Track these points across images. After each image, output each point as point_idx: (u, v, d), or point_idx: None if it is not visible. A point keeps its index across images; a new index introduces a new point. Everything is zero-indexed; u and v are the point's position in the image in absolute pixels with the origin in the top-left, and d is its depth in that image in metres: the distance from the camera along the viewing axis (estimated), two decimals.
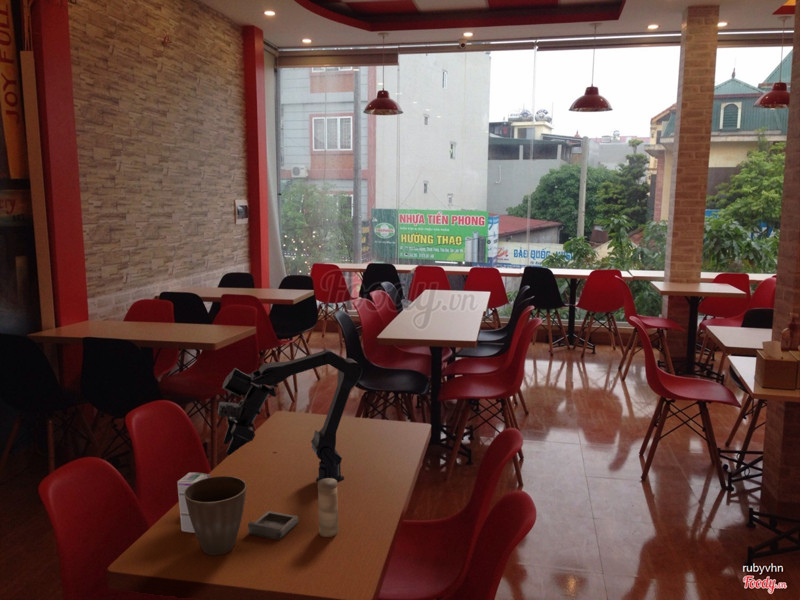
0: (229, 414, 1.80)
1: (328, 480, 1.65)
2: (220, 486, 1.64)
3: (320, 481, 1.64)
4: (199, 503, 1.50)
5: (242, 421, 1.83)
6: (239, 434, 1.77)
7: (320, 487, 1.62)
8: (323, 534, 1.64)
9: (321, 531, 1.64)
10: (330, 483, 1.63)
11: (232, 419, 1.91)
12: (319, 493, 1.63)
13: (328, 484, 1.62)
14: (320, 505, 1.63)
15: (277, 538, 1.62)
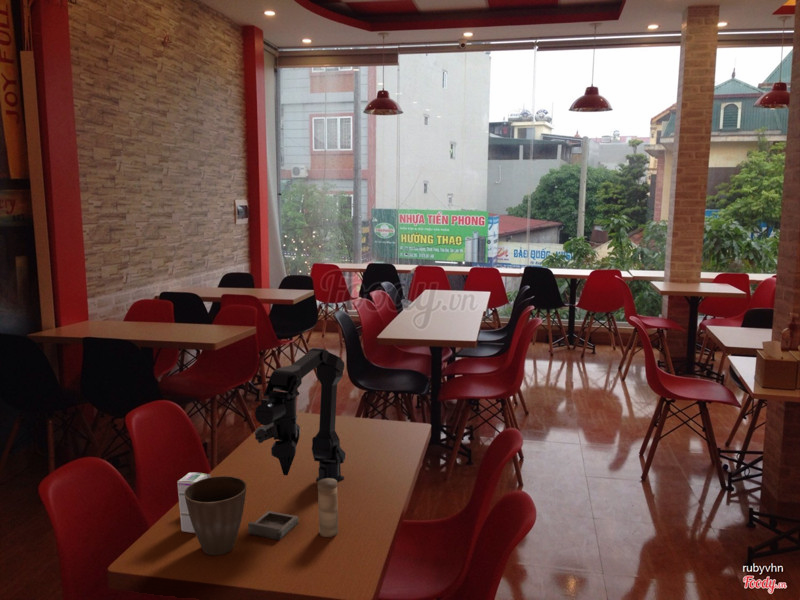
0: (264, 438, 1.69)
1: (328, 480, 1.65)
2: (220, 486, 1.64)
3: (320, 481, 1.64)
4: (199, 503, 1.50)
5: (282, 437, 1.71)
6: (278, 454, 1.65)
7: (320, 487, 1.62)
8: (323, 534, 1.64)
9: (321, 531, 1.64)
10: (330, 483, 1.63)
11: None
12: (319, 493, 1.63)
13: (328, 484, 1.62)
14: (320, 505, 1.63)
15: (277, 538, 1.62)
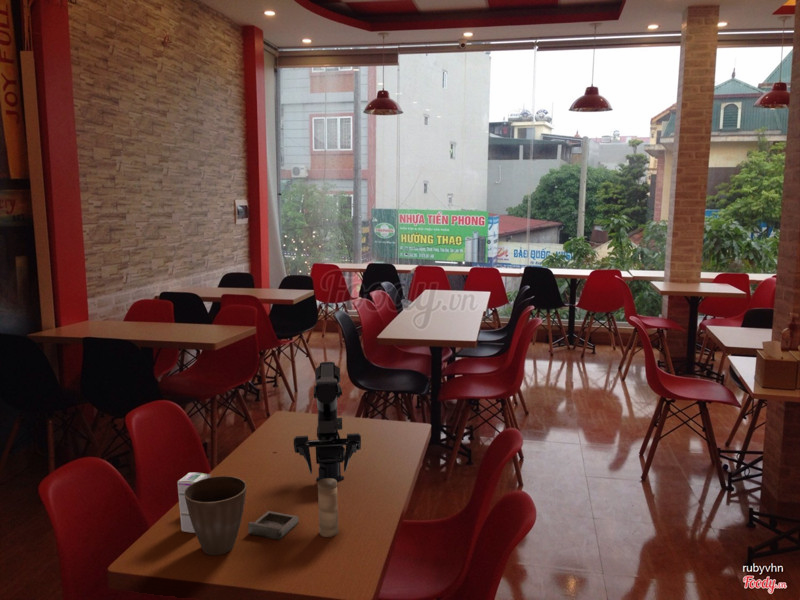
0: None
1: (328, 480, 1.65)
2: (220, 486, 1.64)
3: (320, 481, 1.64)
4: (199, 503, 1.50)
5: (337, 437, 1.77)
6: (360, 442, 1.76)
7: (320, 487, 1.62)
8: (323, 534, 1.64)
9: (321, 531, 1.64)
10: (330, 483, 1.63)
11: None
12: (319, 493, 1.63)
13: (328, 484, 1.62)
14: (320, 505, 1.63)
15: (277, 538, 1.62)
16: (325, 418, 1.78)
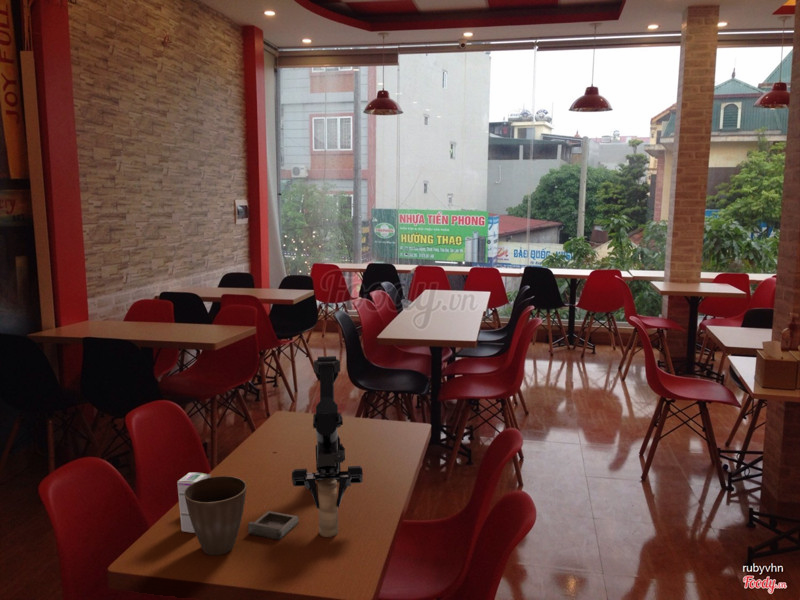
0: None
1: (328, 480, 1.65)
2: (220, 486, 1.64)
3: (320, 481, 1.64)
4: (199, 503, 1.50)
5: (337, 469, 1.69)
6: (362, 475, 1.68)
7: (320, 487, 1.62)
8: (323, 534, 1.64)
9: (321, 531, 1.64)
10: (330, 483, 1.63)
11: None
12: (319, 493, 1.63)
13: (328, 484, 1.62)
14: (320, 505, 1.63)
15: (277, 538, 1.62)
16: (325, 450, 1.70)
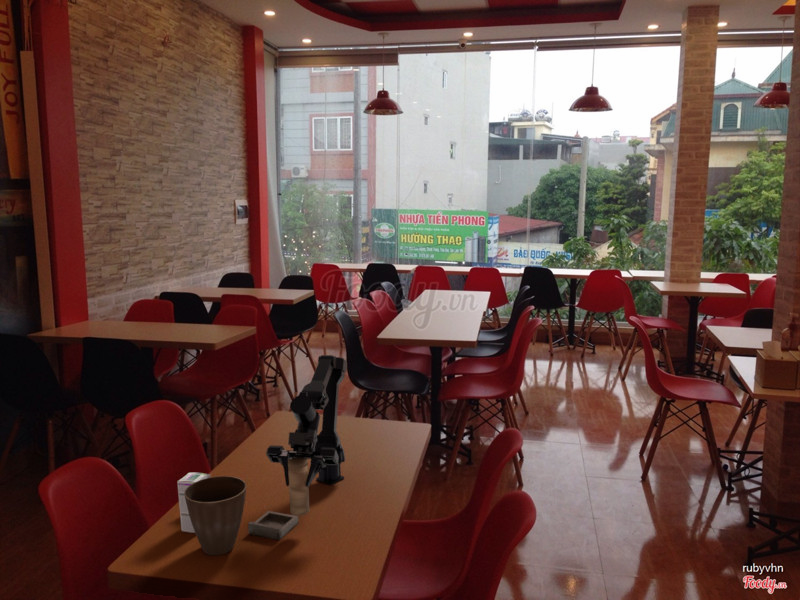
0: (315, 440, 1.64)
1: (299, 459, 1.64)
2: (220, 486, 1.64)
3: (291, 459, 1.64)
4: (199, 503, 1.50)
5: (313, 449, 1.68)
6: (335, 457, 1.65)
7: (289, 465, 1.62)
8: (292, 512, 1.63)
9: (290, 509, 1.64)
10: (300, 461, 1.63)
11: None
12: (288, 471, 1.63)
13: (297, 463, 1.62)
14: (289, 483, 1.63)
15: (277, 538, 1.62)
16: (302, 429, 1.70)
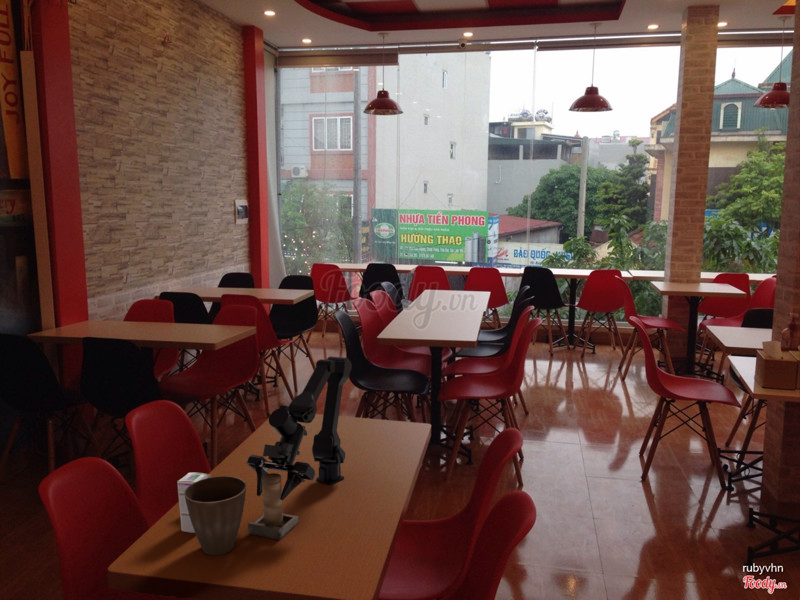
0: (288, 454, 1.66)
1: (274, 475, 1.67)
2: (220, 486, 1.64)
3: (267, 475, 1.67)
4: (199, 503, 1.50)
5: (290, 463, 1.70)
6: (308, 473, 1.66)
7: (262, 481, 1.65)
8: None
9: None
10: (273, 478, 1.65)
11: None
12: (262, 486, 1.66)
13: (269, 479, 1.65)
14: (263, 498, 1.66)
15: (277, 538, 1.62)
16: (283, 441, 1.72)
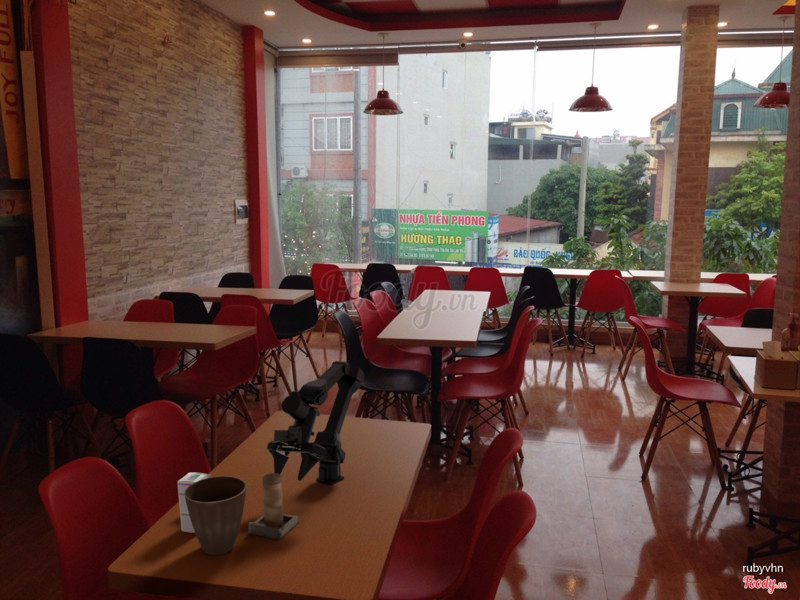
0: (296, 436, 1.73)
1: (275, 475, 1.67)
2: (220, 486, 1.64)
3: (267, 475, 1.67)
4: (199, 503, 1.50)
5: (303, 444, 1.77)
6: (316, 452, 1.72)
7: (262, 480, 1.65)
8: None
9: (264, 523, 1.67)
10: (273, 478, 1.65)
11: (278, 451, 1.80)
12: None
13: (269, 479, 1.65)
14: (263, 498, 1.66)
15: (277, 538, 1.62)
16: (295, 424, 1.80)
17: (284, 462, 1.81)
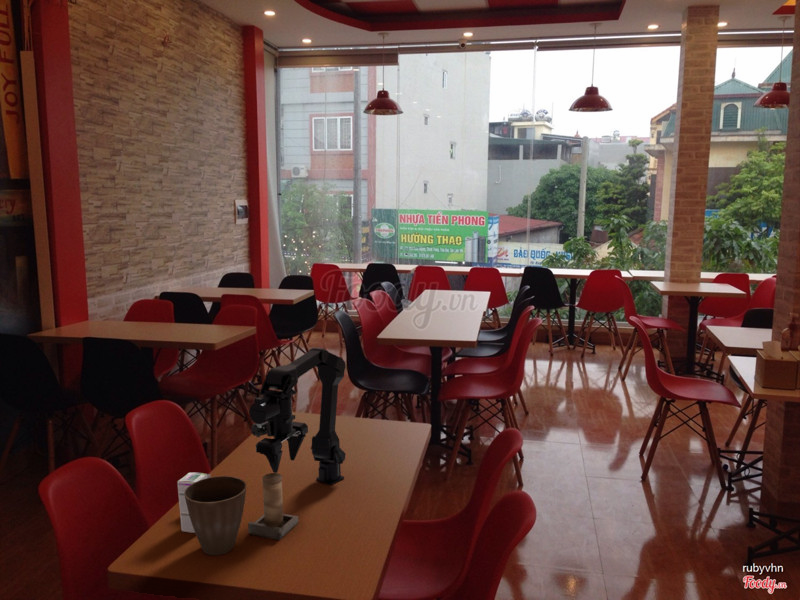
0: (257, 433, 1.74)
1: (275, 475, 1.67)
2: (220, 486, 1.64)
3: (267, 475, 1.68)
4: (199, 503, 1.50)
5: (275, 435, 1.73)
6: (260, 451, 1.68)
7: (262, 480, 1.65)
8: None
9: (264, 523, 1.67)
10: (273, 478, 1.65)
11: None
12: (263, 486, 1.66)
13: (269, 479, 1.65)
14: (263, 498, 1.66)
15: (277, 538, 1.62)
16: None
17: (297, 444, 1.80)
